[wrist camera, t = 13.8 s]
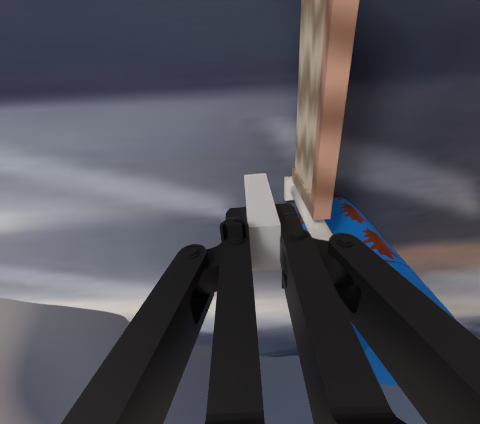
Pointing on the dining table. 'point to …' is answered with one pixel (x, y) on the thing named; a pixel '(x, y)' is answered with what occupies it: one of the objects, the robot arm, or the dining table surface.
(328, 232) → the gate posts
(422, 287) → the thermos
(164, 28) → the dining table surface
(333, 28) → the gate
